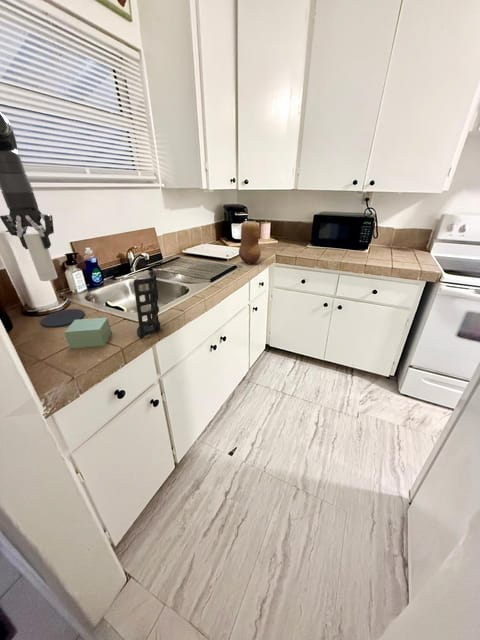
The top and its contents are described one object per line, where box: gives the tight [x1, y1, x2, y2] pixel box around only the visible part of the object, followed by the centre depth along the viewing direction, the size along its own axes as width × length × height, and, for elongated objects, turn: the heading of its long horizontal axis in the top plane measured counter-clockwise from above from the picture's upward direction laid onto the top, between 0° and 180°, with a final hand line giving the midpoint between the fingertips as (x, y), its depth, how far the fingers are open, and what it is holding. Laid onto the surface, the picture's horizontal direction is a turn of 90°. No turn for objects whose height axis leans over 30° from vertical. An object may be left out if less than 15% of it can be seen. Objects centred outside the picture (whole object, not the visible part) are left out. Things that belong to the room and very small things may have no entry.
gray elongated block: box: [23, 231, 59, 282], centre depth 87 cm, size 5×14×14 cm
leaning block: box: [63, 317, 113, 350], centre depth 82 cm, size 10×8×6 cm
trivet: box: [40, 308, 85, 329], centre depth 97 cm, size 14×14×1 cm
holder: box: [133, 270, 161, 339], centre depth 85 cm, size 11×8×20 cm
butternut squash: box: [238, 220, 262, 265], centre depth 158 cm, size 14×13×25 cm
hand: (38, 248), depth 85 cm, fingers closed on gray elongated block, 5 cm apart
